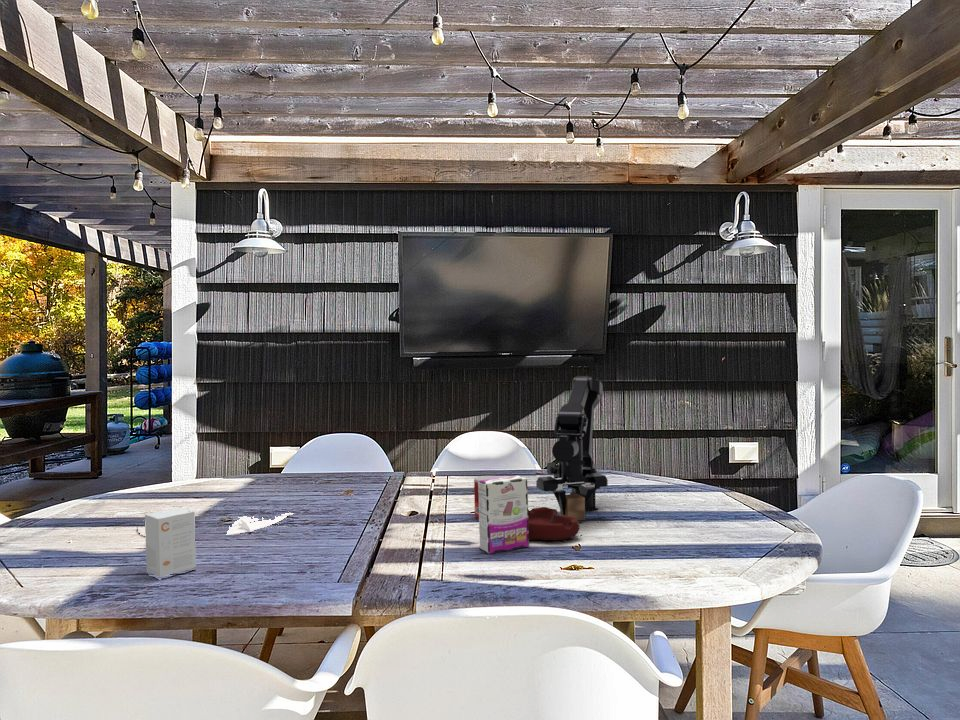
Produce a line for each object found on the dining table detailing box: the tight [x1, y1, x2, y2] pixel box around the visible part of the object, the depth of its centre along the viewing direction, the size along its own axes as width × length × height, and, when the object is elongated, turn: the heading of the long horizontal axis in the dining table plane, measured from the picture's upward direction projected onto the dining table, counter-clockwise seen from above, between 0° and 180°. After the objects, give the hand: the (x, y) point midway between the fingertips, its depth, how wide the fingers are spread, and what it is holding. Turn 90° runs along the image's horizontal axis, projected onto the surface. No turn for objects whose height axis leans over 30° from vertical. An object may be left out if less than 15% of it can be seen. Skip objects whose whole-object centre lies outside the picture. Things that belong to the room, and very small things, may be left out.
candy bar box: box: [478, 475, 530, 555], centre depth 154 cm, size 11×5×16 cm, turn 117°
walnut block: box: [559, 493, 586, 521], centre depth 177 cm, size 5×5×6 cm
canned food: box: [473, 475, 501, 520], centre depth 183 cm, size 8×8×11 cm
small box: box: [144, 507, 197, 577], centre depth 140 cm, size 8×6×13 cm
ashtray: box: [528, 506, 580, 542], centre depth 164 cm, size 18×16×5 cm
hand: (572, 513), depth 177 cm, fingers closed on walnut block, 5 cm apart
